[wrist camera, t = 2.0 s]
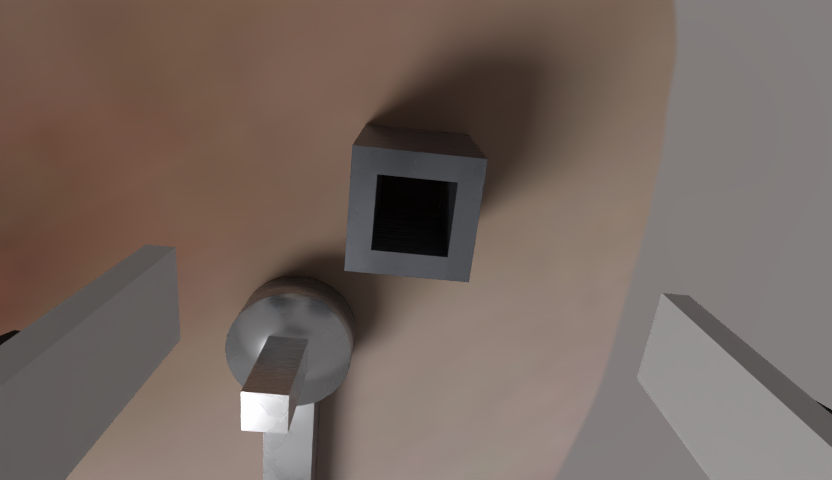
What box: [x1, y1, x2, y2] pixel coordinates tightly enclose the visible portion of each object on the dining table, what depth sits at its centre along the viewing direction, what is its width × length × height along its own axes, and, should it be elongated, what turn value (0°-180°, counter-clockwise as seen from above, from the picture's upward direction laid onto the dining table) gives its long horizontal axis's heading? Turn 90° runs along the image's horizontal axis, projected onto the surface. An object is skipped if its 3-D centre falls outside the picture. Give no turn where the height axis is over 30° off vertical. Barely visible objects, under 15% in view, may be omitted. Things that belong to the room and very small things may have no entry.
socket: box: [344, 124, 488, 282], centre depth 25 cm, size 6×6×7 cm
